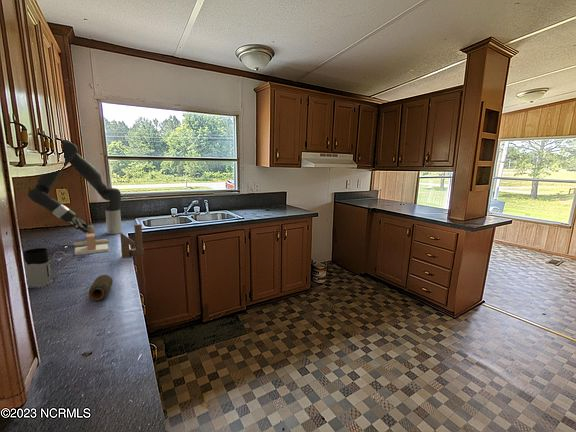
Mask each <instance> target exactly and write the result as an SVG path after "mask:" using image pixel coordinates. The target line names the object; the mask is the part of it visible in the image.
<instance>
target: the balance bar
mask: <svg viewBox="0 0 576 432" xmlns="http://www.w3.org/2000/svg"><path fill="white" fill-rule="evenodd" d="M87 230H88V232H87V233H86V235H87V234H91V233H95V227H94V225H88V226H87ZM109 241H110V240H109V239H108V238H107V239H106V238H104V239H95V242H96V245H101V244H109V243H110V242H109ZM83 246H87V240H84V241H75V242H73V247H83Z"/></svg>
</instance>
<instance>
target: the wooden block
mask: <svg viewBox="0 0 576 432" xmlns="http://www.w3.org/2000/svg"><path fill="white" fill-rule="evenodd" d="M119 234H120V247H121V249H120V251H121V252H120V253H121V257H122V258H123V259H125V258H130V257H137V256H138V257H139V256H144V255H145V251H144V250H145V249H144V246H143V225H142V224H141V223H135V224H134V239H135V241H134V240H133V239H131V238H130V237H128V236H127V235H126V234H125V233H123V232H120V233H119ZM131 245H135V248H130V246H131Z"/></svg>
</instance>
